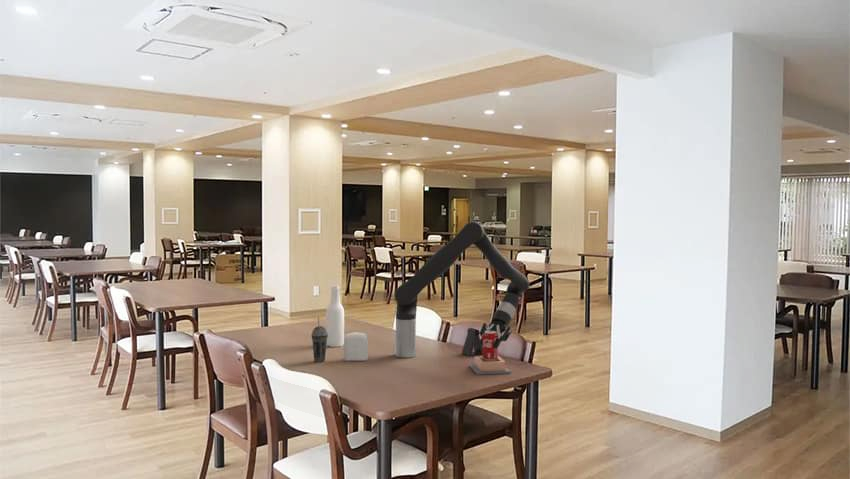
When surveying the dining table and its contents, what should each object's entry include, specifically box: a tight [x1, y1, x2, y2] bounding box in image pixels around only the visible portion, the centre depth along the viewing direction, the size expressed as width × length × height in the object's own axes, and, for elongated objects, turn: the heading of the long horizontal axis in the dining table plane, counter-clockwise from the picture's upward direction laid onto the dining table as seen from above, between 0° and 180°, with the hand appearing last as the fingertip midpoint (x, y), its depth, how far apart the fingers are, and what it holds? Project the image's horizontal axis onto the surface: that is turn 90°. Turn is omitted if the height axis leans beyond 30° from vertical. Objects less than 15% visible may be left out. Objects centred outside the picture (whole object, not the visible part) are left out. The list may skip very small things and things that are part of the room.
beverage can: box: [482, 331, 499, 361], centre depth 254 cm, size 6×6×12 cm
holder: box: [469, 355, 512, 376], centre depth 254 cm, size 14×14×4 cm
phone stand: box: [461, 327, 483, 357], centre depth 283 cm, size 9×6×12 cm, turn 118°
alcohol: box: [325, 284, 345, 348], centre depth 299 cm, size 9×9×30 cm
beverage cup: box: [311, 316, 328, 364], centre depth 265 cm, size 7×7×20 cm
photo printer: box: [344, 331, 369, 362], centre depth 269 cm, size 10×4×12 cm, turn 89°
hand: (487, 346), depth 252 cm, fingers closed on beverage can, 6 cm apart
